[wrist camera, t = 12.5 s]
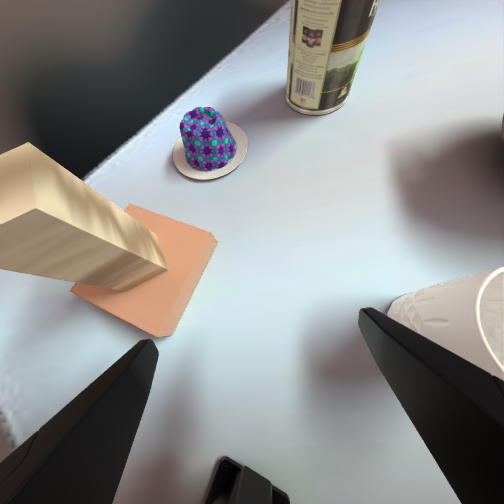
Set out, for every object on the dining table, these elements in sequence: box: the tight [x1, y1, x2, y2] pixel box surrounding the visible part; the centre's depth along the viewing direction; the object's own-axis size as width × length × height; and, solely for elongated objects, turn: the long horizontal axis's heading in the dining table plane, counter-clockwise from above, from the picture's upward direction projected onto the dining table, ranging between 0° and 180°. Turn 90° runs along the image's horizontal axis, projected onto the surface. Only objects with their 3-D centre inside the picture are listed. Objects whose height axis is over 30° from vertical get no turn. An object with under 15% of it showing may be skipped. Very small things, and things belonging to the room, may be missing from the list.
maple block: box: [0, 143, 168, 292], centre depth 16 cm, size 5×5×12 cm
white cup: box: [387, 266, 504, 380], centre depth 15 cm, size 8×8×10 cm
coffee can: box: [285, 0, 380, 115], centre depth 25 cm, size 10×10×14 cm
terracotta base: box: [70, 204, 218, 337], centre depth 23 cm, size 12×12×3 cm
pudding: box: [173, 107, 248, 180], centre depth 28 cm, size 12×12×5 cm
